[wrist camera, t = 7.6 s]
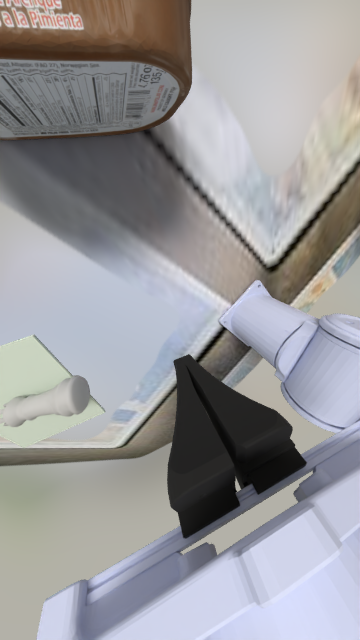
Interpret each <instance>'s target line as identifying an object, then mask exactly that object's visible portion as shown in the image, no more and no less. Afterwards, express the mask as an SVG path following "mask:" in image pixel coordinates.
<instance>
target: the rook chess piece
mask: <svg viewBox="0 0 360 640" xmlns="http://www.w3.org/2000/svg"><path fill="white" fill-rule="evenodd" d="M89 399H90V390H89V385H88V383H87V381H86V380H85V379H84V378H83V377H81V376H78V375H76V376H73V377H72V378H66V379H64V380H63V381H62V382H60V383H59V384H58V385H56V386H55V387H54V388H53V389H51V390H48V391H46V392H44V393H41V394H38V395H36V394H32V395H29V396H28V397H27V398H26V397H24V396H17V397H14V398H13V399H12V400H10V402H7V403H6V404H4V405H3V406H4V407H5V408H4V409H1V410H0V415H1V414H3V418H0V424H1V423H4V422H5V423H4V425H3V426H10V427H18V426H20V425H22V424H23V423H24V422H25V421H26V420H29V421H32V420H34V419H36V418H37V417H39V416H43V415H50V414H56V415H61V416H66V417H70V416H72V415H74V414H76V415H79V414H80V413H82V412H83V411H84V410H85V409H86V407H87V405H88V403H89Z"/></svg>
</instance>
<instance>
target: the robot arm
mask: <svg viewBox="0 0 360 640" xmlns="http://www.w3.org/2000/svg"><path fill="white" fill-rule="evenodd" d="M258 285H259V286H258ZM219 322H220V323H221V324H222V325H223V326H224V327H225V328H227V329H228V330H229V331H230V332H231V333H233V334H234V335H235V336H236V337H237V338H239V339H240V340H241V341H242V342H243V343H245V344H246V345H247V346H251V347H252V348H253V349H254V350H255V351H257V352H258V353H259V354H260V355H261V356H262V357H263V358H264V359H266V360H267V361H268V362H269V363H270V364H271V365H272V366H273V367H275V368H276V373H275V376H276V377H277V378H279V379H280V380H281V381H282V383H281V391H282V394H283V396H284V397H285V399H286V400H287V402H288V403H289V404H290V405H291V407H292V408H293V409H294V410H295V411H296V412H297V413H298V414H300V415H301V416H302V417H304V418H305V419H306V420H308V421H309V422H311V423H313V424H315V425H316V426H318V427H320V428H322V429H325V430H327V431H330V432H334V433H337V434H335V435H333V436H332V437H330V438H328V439H327V440H325V441H323V442H321V443H320V444H318V445H316V446H315V447H313V448H311V449H310V450H308V451H306V452H304V453H303V454H300V453H299V452H298V451H297V449H296V448H295V444H294V443H293V441H292V440H291V439H290V436H291V434H292V426H291V425H290V424H289V423H288V421H287V420H286V419H284V417H282V416H281V415H280V414H279V413H278V412H277V411H275V410H274V409H271V408H268V407H266V406H264V405H262V404H260V403H258V402H255V401H253V400H251V399H249V398H247V397H246V396H244V395H242V394H240V393H238V392H236V391H235V390H233V389H231V388H230V387H228V386H227V385H225V384H224V383H222V382H221V381H219V380H218V379H216V378H215V377H214V376H212V375H211V374H210V373H209V372H207V371H206V370H205V369H204V368H203V367H202V366H201V365H199V364H198V363H197V362H196V361H195V360H194V359H193V357H192V356H191V355H189V354H188V355H186V356H184V357H181V358H179V359H176V360H174V365H175V370H176V377H177V411H176V421H175V429H174V435H173V442H172V448H171V453H170V457H169V462H168V478H167V481H168V482H167V484H168V495H169V500H170V505H171V508H173V509H174V510H175V511H176V512H178V516H179V520H180V525H181V526H179V527H177V528H176V529H174V530H172V531H170V532H169V533H167V534H165V535H164V536H162V537H160V538H159V539H157V540H155V541H154V542H152V543H150V544H148V545H147V546H145V547H143V548H142V549H140V550H138V551H137V552H135V553H133V554H132V555H130V556H128V557H126V558H125V559H123V560H121V561H120V562H118V563H116V564H114V565H113V566H111V567H109V568H108V569H106V570H105V571H103V572H101V573H99V574H98V575H96V576H94V577H92V578H91V579H89V580H80V581H78V582H75V583H73V584H71V585H69V586H68V587H66V588H64V589H63V590H61V591H59V592H57V593H56V594H54V595H52V596H50V597H49V598H47V599H46V600H45V602H44V605H43V609H42V614H41V619H40V624H39V629H38V634H37V639H36V640H360V318H359V317H355V316H351V315H346V314H331V315H325V316H323V317H321V319H318V318H316V317H313V316H311V315H309V314H307V313H305V312H302V311H300V310H298V309H296V308H294V307H291V306H289V305H287V304H285V303H283V302H280V301H278V300H276V299H274V298H272V297H271V296H270V294H269V293H268V292H267V290H266V289H265V287H264V286H263V285H262V283H261V282H260V281H259V280H256V281H254V283H253V284H252V285H251V286H250V287H249V288H248V289H247V290H246V291H245V292H244V293H243V294H242V295H241V297H240V298H239V299H238V300H237V301H236V302H235V303H234V304H233V305H232V306H231V307H230V308H229V310H228V311H227V312H226V313H225V314H224V315H223V316H222V317H221V318H220V319H219ZM203 406H204V407H203ZM204 408H205V409H204ZM205 410H206V411H205ZM206 412H207V413H206ZM207 414H208V415H207ZM208 416H209V417H208ZM209 418H210V419H209ZM311 471H313V474H312V475H311V476H309V477H308V478H307V479H306V480H304V481H303V482H302V483H300V484H299V487H298V488H297V490H295V491H294V496H295V497H296V499H297V500H298V503H297V504H296V505H294V506H292V507H290V508H289V509H287V510H286V511H284V512H282V513H281V514H279V515H278V516H276V517H275V518H273V519H271V520H270V521H268V522H267V523H265V524H264V525H262V526H261V527H259V528H258V529H256V530H254V531H253V532H251V533H250V534H248V535H247V536H245V537H244V538H243V539H241V540H239V541H238V542H236V543H235V544H233V545H232V546H230V547H229V548H228V549H226V550H225V551H223V552H222V553H220V554H219V555H217V553H216V549H215V546H214V545H213V544H208V543H207V542H206V543H204V544H202V545H200V546H198V547H196V548H195V549H193V550H191V551H189V552H187V553H186V554H184V555H183V554H182V553H180V552H181V551H183V550H184V549H186V548H188V547H189V546H191V545H192V544H194V543H196V542H197V541H199V540H201V539H202V538H204V537H206V536H207V535H209V534H210V533H212V532H214V531H215V530H217V529H218V528H220V527H222V526H223V525H225V524H227V523H228V522H230V521H231V520H233V519H235V518H236V517H238V516H240V515H241V514H243V513H244V512H246V511H248V510H249V509H251V508H253V507H254V506H256V505H257V504H259V503H261V502H262V501H264V500H266V499H267V498H269V497H270V496H272V495H274V494H275V493H277V492H278V491H280V490H282V489H283V488H285V487H286V486H288V485H290V484H291V483H293V482H295V481H296V480H298V479H300V478H301V477H303V476H304V475H306V474H308V473H309V472H311ZM235 476H236V478H237V481H238V483H239V485H240V488H241V490H240V491H239V492H237V491H236V488H235ZM236 492H237V493H236Z"/></svg>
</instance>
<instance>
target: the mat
mask: <svg viewBox="0 0 360 640" xmlns="http://www.w3.org/2000/svg"><path fill="white" fill-rule="evenodd" d="M72 377H73V376H72V374H71V373H70V372H69V371H68V370H67V369H66V368H65V367H64V366H63V365H62V364H61V363H60V362H59V361H58V359H57V358H56V357H54V355H53V354H52V353H51V352H50V351H49V350H48V349H47V348H46V347H45V346H44V345H43V344H42V342H41V341H40V340H39V339H38V338H37V337H36V336H35V335H31V336H28V337H25V338H22V339H19V340H17V341H13V342H11V343H8V344H5V345H2V346H0V410H1V409H4V408H5V407H4V406H3V405H4V404H6V403H7V402H10V400H12V399H13V398H14V397H17V396H24V397H26V398H27V397H28V396H29V395H32V394H36V395H38V394H41V393H44V392H46V391H48V390H51V389H53V388H54V387H55V386H56V385H58V384H59V383H60V382H62V381H63V380H64V379H66V378H72ZM103 413H105V410H104V409H103V408H102V407H101V405H100V404H99V403H98V402H97V401H96V400H95V399H94V398H93V397H92V396H91V395H90V399H89V403H88V405H87V407H86V409H85V410H84V411H83V412H82V413H80V414H79V415H76V414H74V415H72V416H70V417H66V416H61V415H56V414H50V415H43V416H39V417H37V418H36V419H34V420H32V421H29V420H26V421H25V422H24V423H23V424H22V425H20V426H18V427H10V426H3V425H4V423H5V422H4V423H1V424H0V436H1V437H3V438H5V439H7V440H9V441H11V442H13V443H15V444H17V445H19V446H21V447H23V448H25V447H28V446H30V445H32V444H34V443H37V442H39V441H41V440H44V439H46V438H48V437H50V436H53V435H55V434H57V433H59V432H61V431H64V430H66V429H69V428H71V427H73V426H75V425H78V424H80V423H82V422H85V421H87V420H89V419H91V418H94V417H96V416H98V415H100V414H103ZM0 418H3V414H1V415H0Z"/></svg>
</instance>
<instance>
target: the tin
mask: <svg viewBox="0 0 360 640" xmlns="http://www.w3.org/2000/svg"><path fill="white" fill-rule="evenodd" d="M190 15H191V0H0V140H24V139H49V138H71V137H88V136H104V135H118V134H127V133H133V132H138V131H142V130H146V129H149V128H152V127H155V126H157V125H159V124H161V123H163V122H165V121H166V120H168V119H169V118H170V117H171V116H172V115H173V114H174V113H175V112H176V110H177V109H178V107H179V106H180V105H181V104H182V103H183V101H184V100H185V98H186V97H187V95H188V93H189V90H190V88H191V84H192V59H191V38H190Z"/></svg>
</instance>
